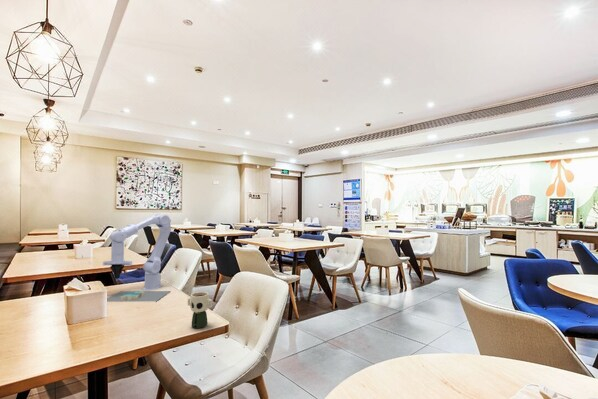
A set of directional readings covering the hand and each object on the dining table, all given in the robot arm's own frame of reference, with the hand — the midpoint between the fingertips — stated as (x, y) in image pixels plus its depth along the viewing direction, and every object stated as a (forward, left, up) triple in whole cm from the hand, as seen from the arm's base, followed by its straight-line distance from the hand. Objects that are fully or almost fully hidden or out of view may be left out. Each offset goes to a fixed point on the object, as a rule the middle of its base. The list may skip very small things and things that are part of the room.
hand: (117, 278), depth 161 cm
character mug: (+41, +57, -10) cm, 71 cm away
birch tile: (+4, +7, -8) cm, 11 cm away
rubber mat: (+2, +12, -9) cm, 15 cm away
